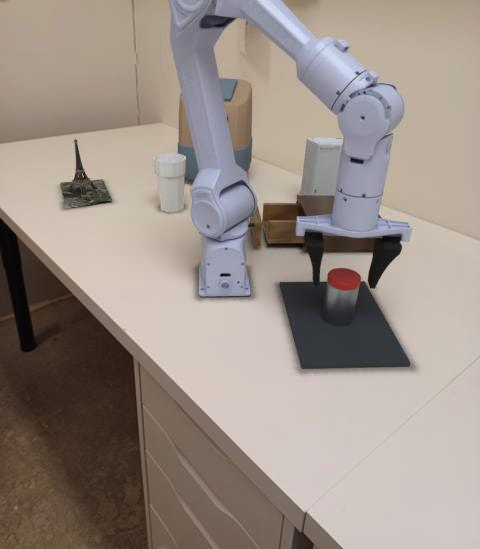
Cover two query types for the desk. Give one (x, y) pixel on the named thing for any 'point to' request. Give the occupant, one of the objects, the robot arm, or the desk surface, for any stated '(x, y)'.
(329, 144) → the cosmetic box
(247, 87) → the tan and blue canister
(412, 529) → the desk surface
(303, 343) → the mat
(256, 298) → the desk surface
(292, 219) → the drawer
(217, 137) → the robot arm
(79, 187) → the eiffel tower figurine
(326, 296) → the tin
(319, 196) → the cabinet
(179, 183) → the cup
